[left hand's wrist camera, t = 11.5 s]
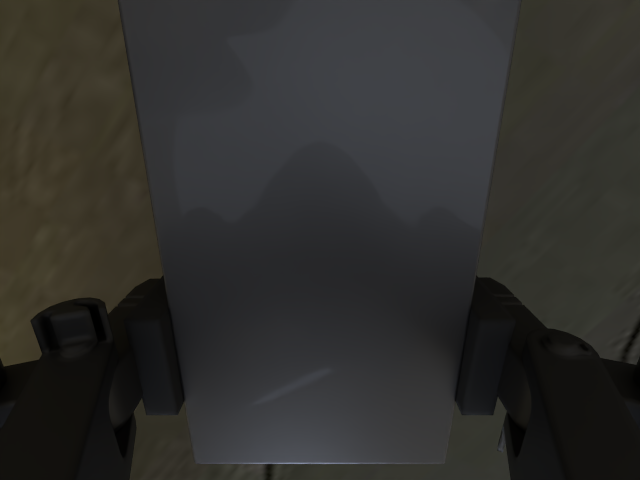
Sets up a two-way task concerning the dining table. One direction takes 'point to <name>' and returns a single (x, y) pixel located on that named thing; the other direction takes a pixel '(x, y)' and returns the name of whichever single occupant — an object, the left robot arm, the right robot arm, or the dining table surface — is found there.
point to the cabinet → (319, 213)
